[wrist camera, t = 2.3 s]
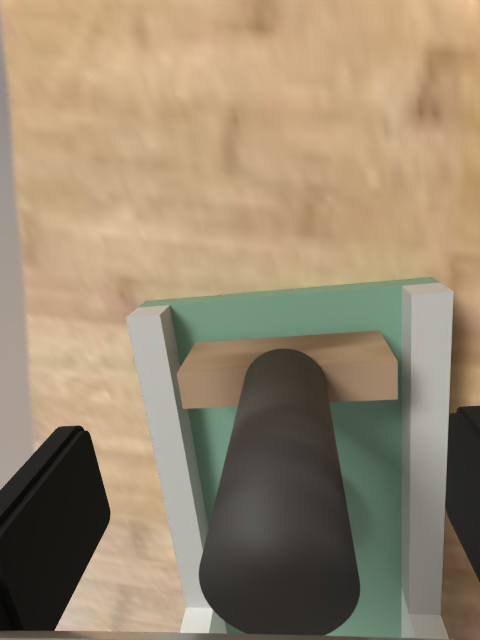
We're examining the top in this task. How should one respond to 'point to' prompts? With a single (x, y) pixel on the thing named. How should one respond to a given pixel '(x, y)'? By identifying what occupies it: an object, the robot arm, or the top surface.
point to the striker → (284, 476)
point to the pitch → (350, 433)
